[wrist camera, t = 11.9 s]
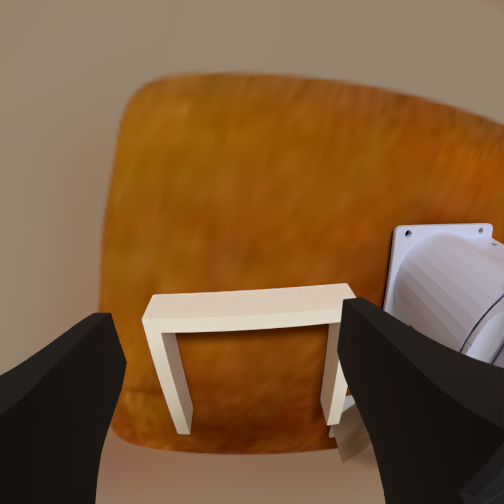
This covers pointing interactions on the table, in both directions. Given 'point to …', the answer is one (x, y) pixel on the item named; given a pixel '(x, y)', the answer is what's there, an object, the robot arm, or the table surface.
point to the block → (354, 440)
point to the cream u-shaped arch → (242, 318)
